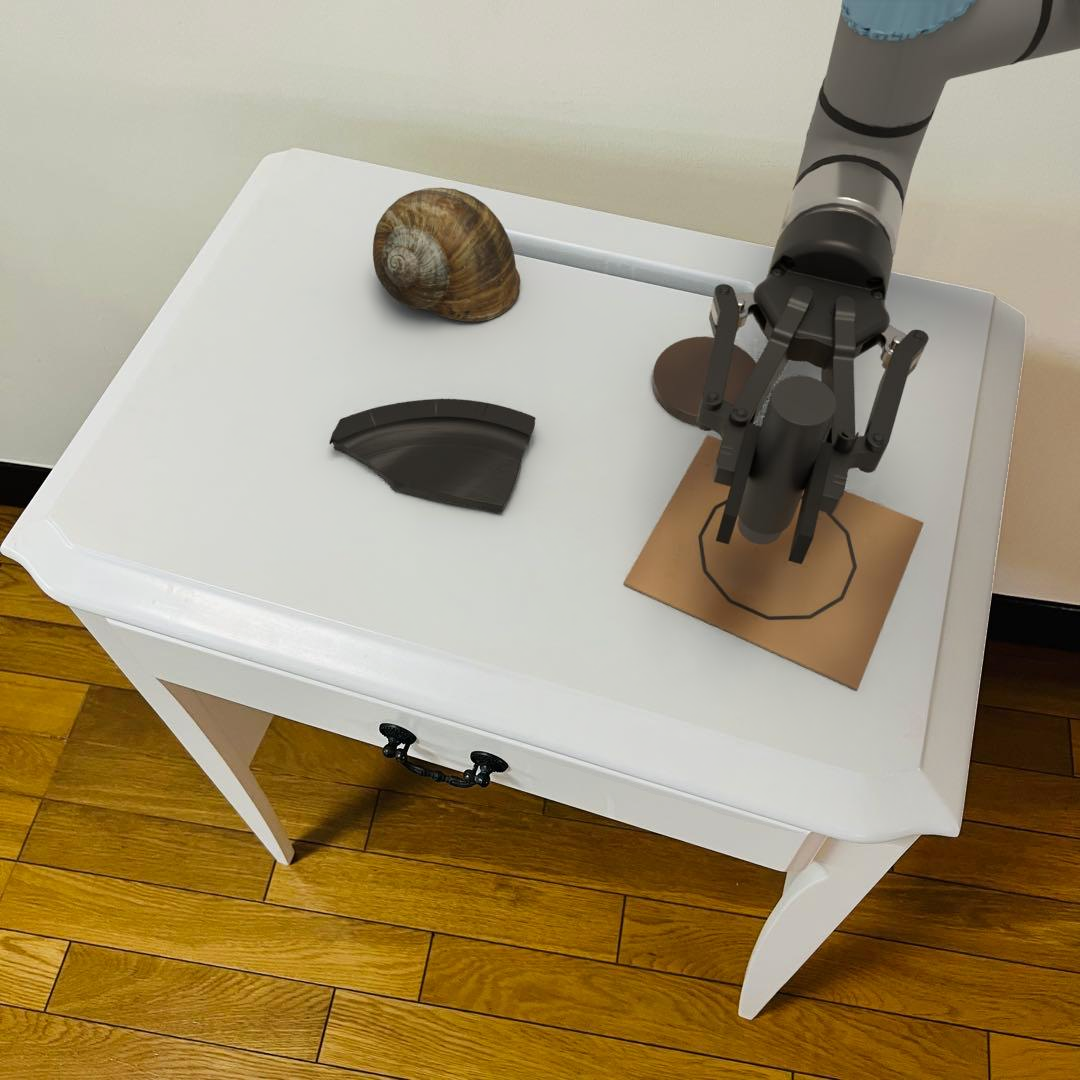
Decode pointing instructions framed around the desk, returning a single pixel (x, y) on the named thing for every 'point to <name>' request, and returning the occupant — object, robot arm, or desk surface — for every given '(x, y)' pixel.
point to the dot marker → (784, 456)
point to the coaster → (694, 376)
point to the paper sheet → (780, 574)
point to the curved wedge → (441, 448)
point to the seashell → (446, 255)
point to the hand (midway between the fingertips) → (763, 538)
